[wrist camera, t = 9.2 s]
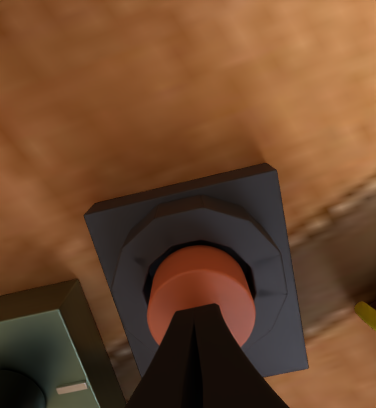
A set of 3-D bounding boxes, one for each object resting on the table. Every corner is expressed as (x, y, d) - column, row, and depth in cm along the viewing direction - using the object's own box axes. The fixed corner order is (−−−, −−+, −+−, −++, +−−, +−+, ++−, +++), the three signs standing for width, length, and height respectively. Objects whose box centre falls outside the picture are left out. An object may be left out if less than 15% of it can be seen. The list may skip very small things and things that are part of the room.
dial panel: (135, 425, 18) (127, 476, 16) (7, 450, 19) (-21, 503, 16) (78, 278, 15) (57, 311, 13) (-71, 311, 16) (-120, 349, 13)
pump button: (252, 315, 13) (264, 352, 11) (165, 333, 13) (162, 372, 11) (235, 234, 12) (245, 258, 10) (141, 255, 12) (133, 283, 10)
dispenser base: (297, 343, 17) (325, 402, 13) (152, 372, 17) (144, 436, 14) (266, 162, 14) (292, 179, 11) (94, 203, 14) (66, 231, 11)
